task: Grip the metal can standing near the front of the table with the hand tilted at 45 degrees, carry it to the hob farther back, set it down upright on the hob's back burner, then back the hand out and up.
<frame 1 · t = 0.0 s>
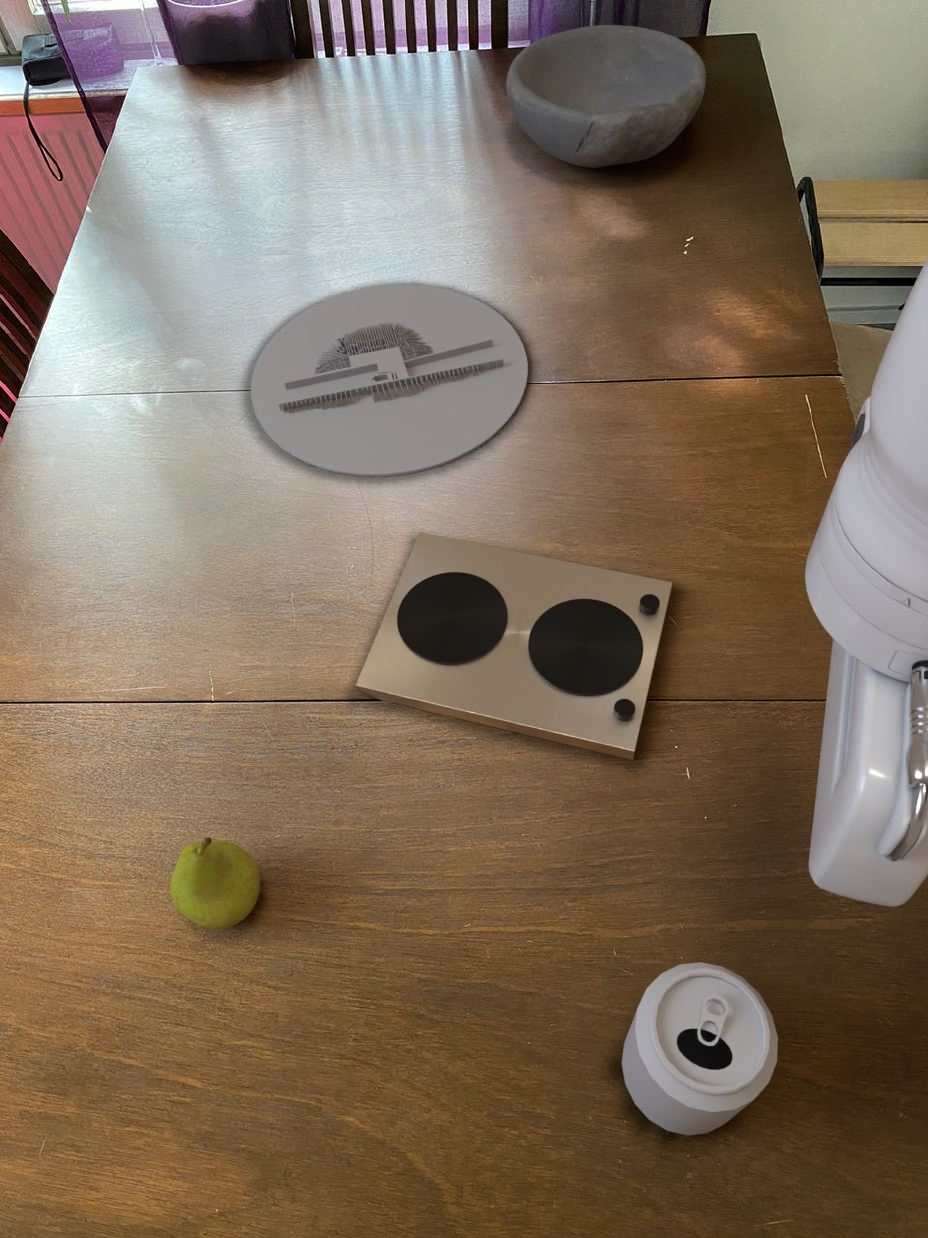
hand: (840, 739, 47), 23 cm above the table, tool pointing down, fingers open, 8 cm apart
bowl: (601, 147, 119), on the table
fruit: (229, 901, 68), on the table
can: (681, 1070, 60), on the table
hob: (518, 642, 79), on the table
plate: (389, 375, 98), on the table
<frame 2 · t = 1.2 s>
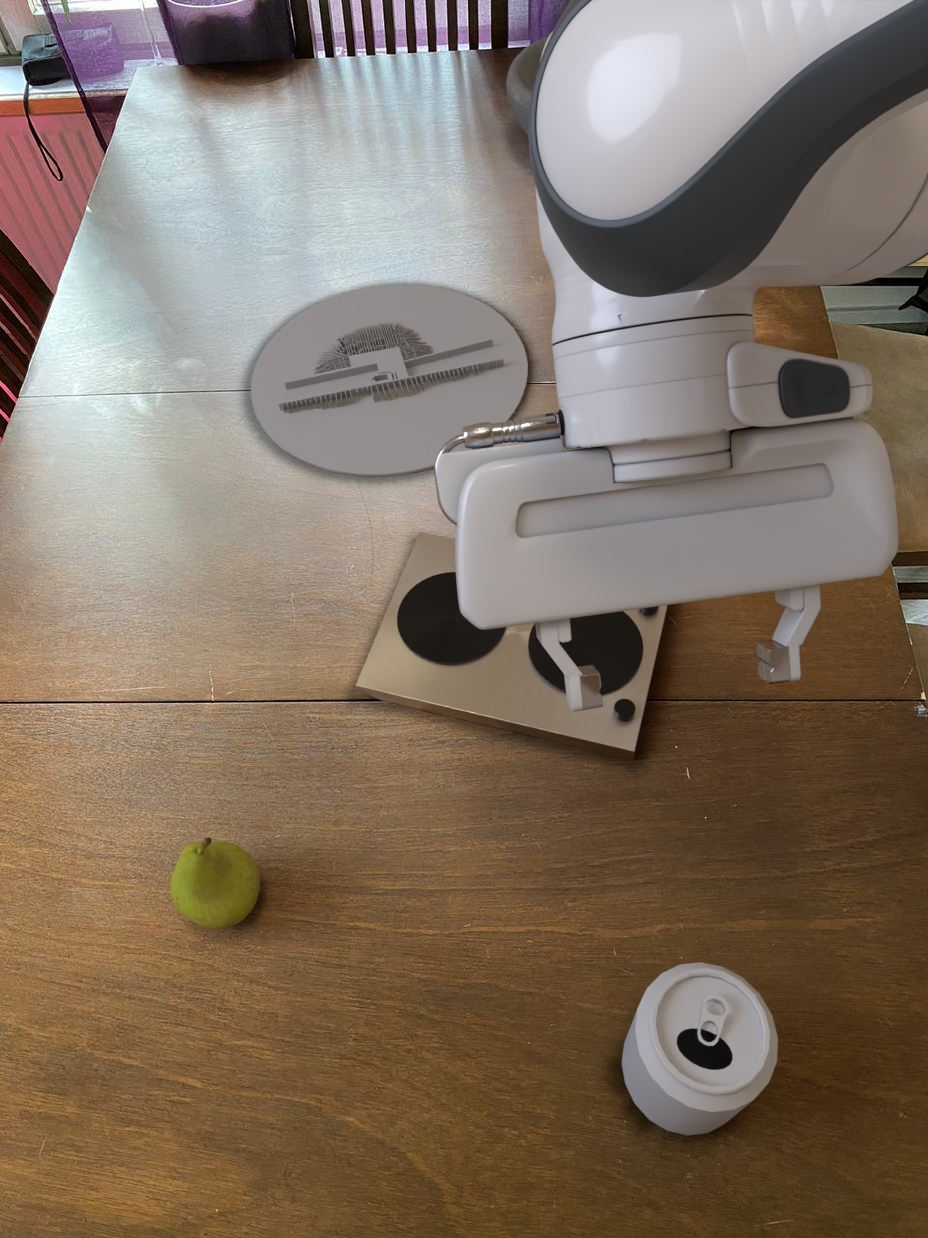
hand: (682, 693, 46), 25 cm above the table, tool tilted 45°, fingers open, 8 cm apart
nothing on the table moved.
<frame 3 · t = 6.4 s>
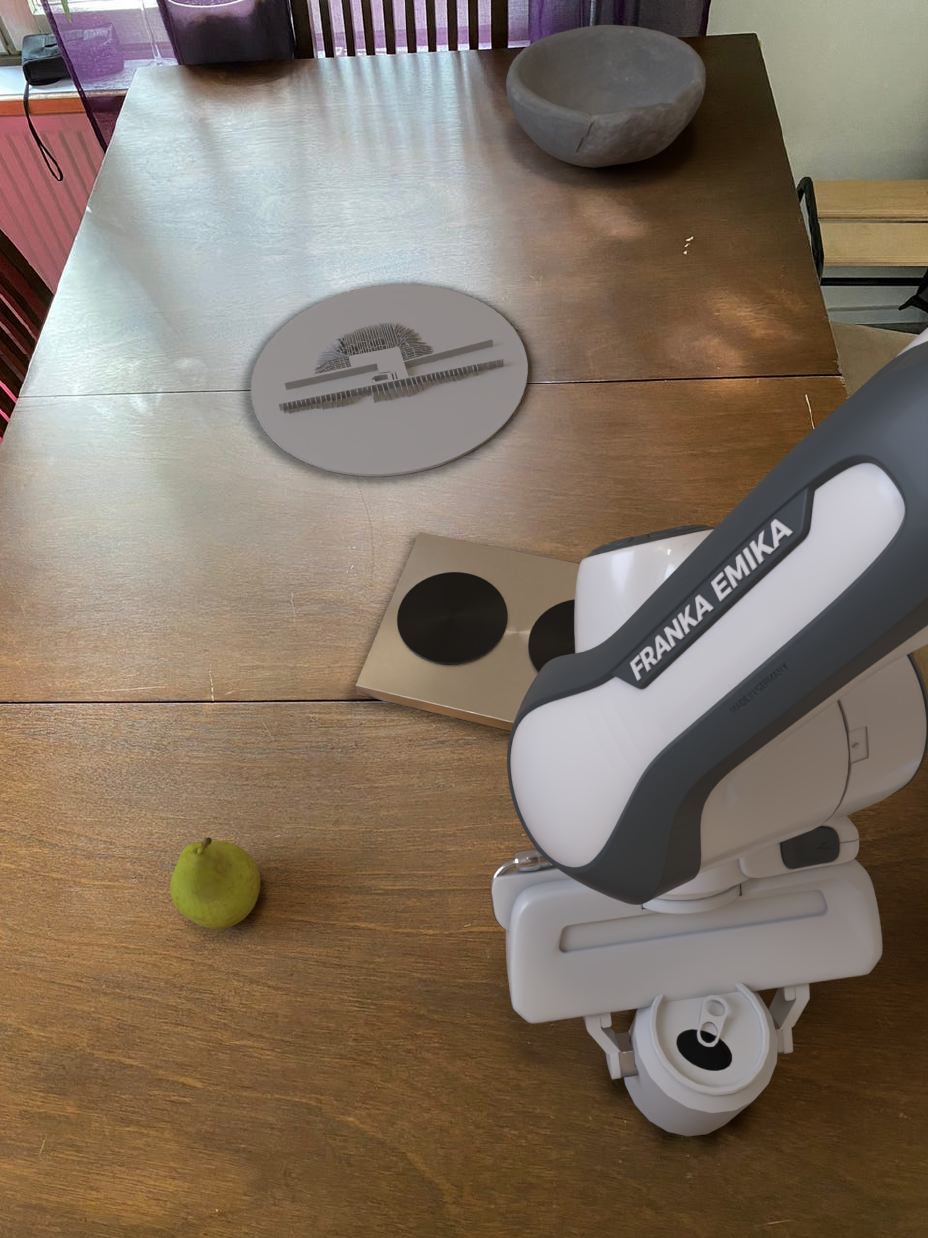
hand: (699, 1060, 54), 7 cm above the table, tool tilted 45°, fingers closed on can, 7 cm apart
can: (681, 1071, 60), on the table, touching gripper
everything else where it was.
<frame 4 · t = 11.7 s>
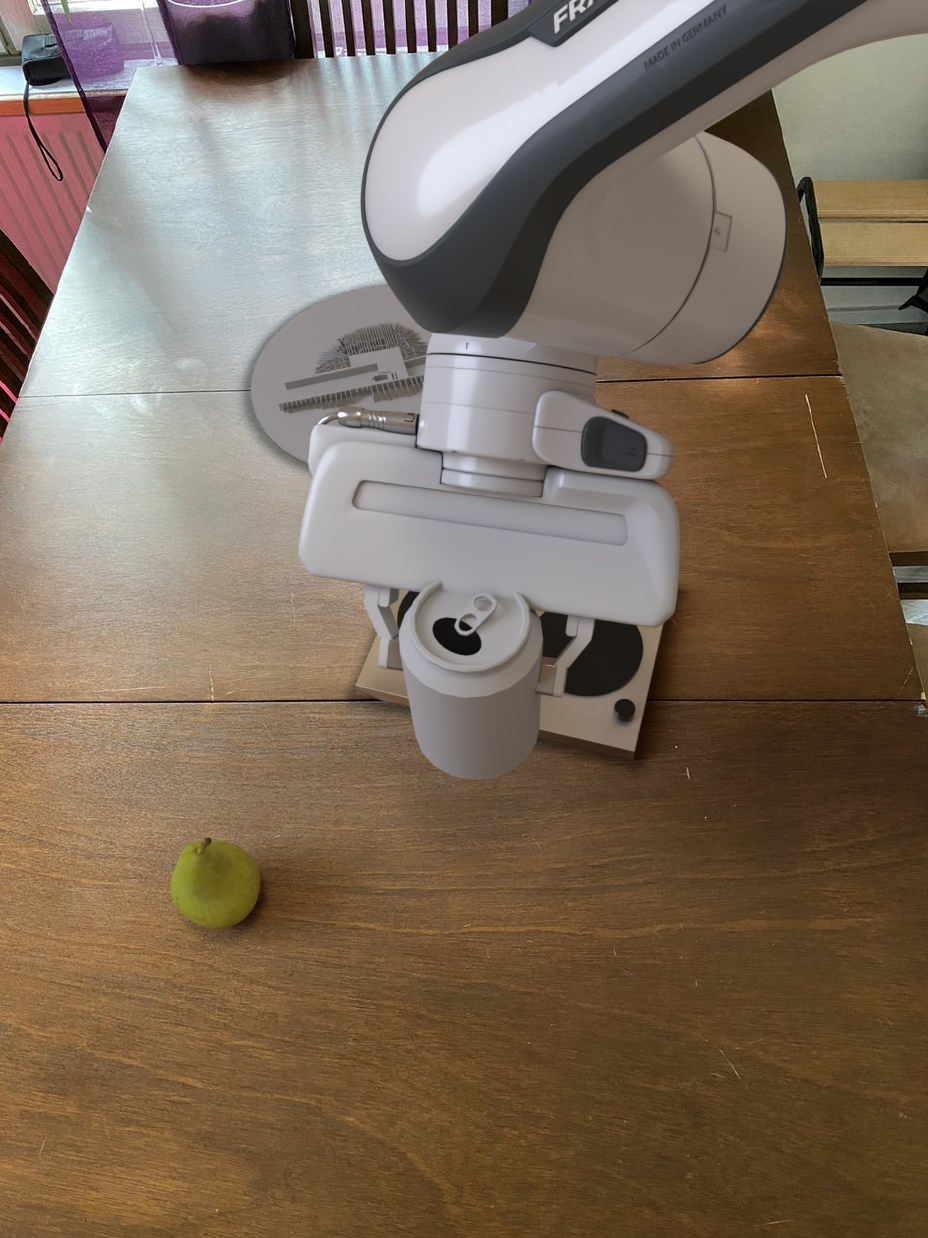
hand: (471, 680, 53), 21 cm above the table, tool tilted 45°, fingers closed on can, 7 cm apart
can: (477, 731, 59), point 14 cm above the table, touching gripper
everything else where it was.
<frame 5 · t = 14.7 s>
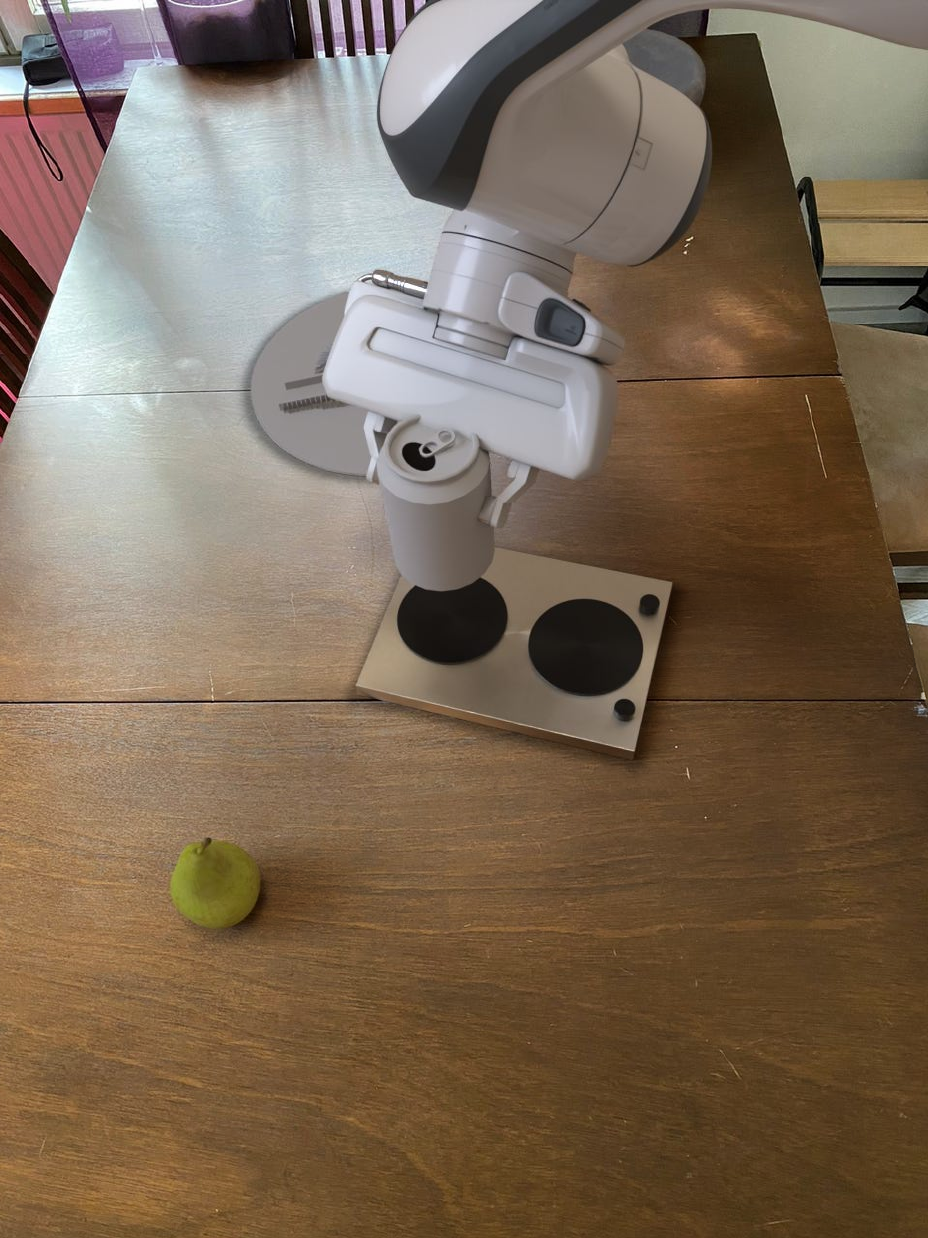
hand: (434, 504, 66), 16 cm above the table, tool tilted 45°, fingers closed on can, 7 cm apart
can: (445, 559, 72), point 9 cm above the table, touching gripper
everything else where it was.
when the fingers open (8 cm above the table, at t = 17.5 s): can stays where it is, resting on hob.
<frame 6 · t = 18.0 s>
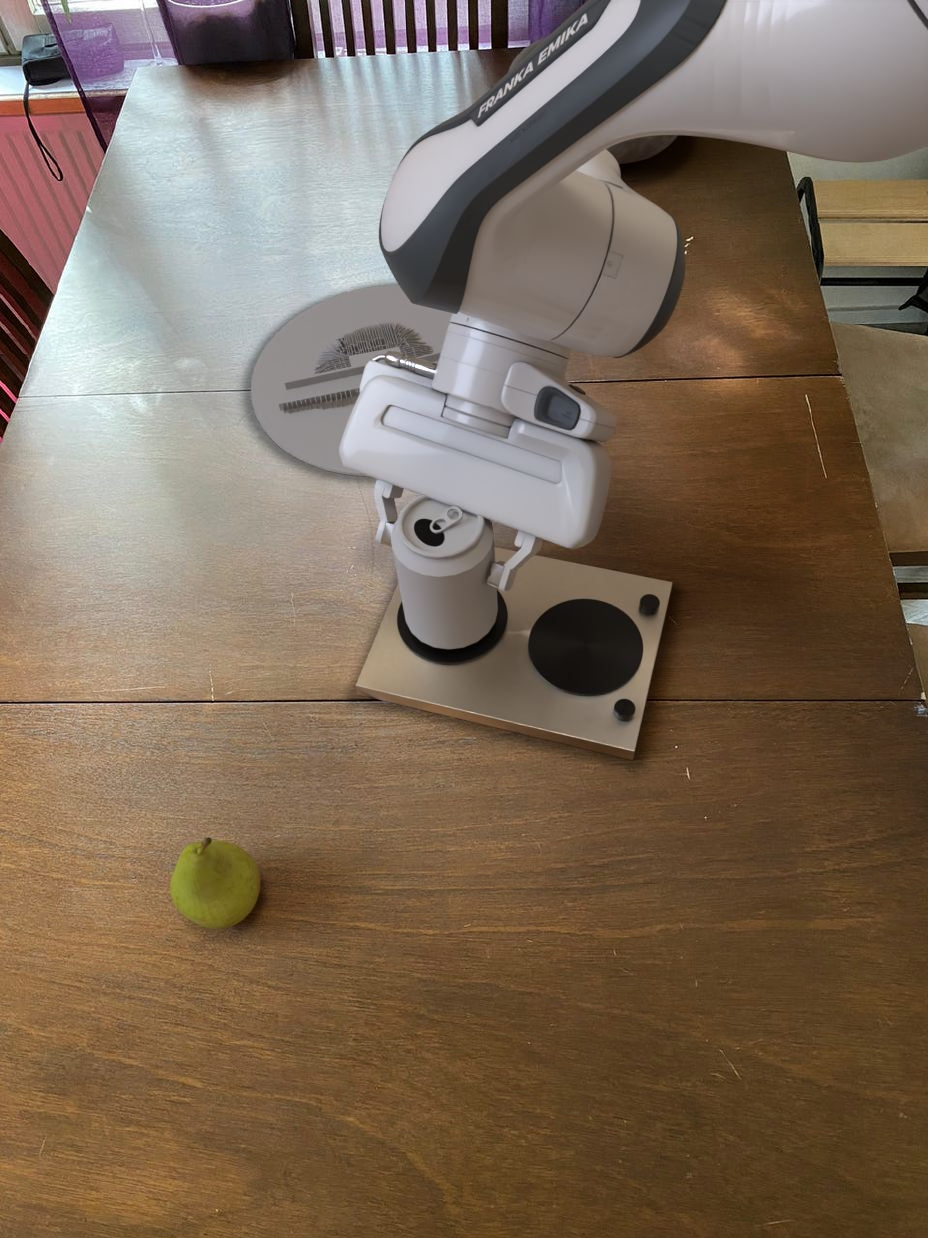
hand: (441, 565, 72), 9 cm above the table, tool tilted 45°, fingers open, 8 cm apart
can: (452, 617, 78), point 2 cm above the table, touching hob
everything else where it was.
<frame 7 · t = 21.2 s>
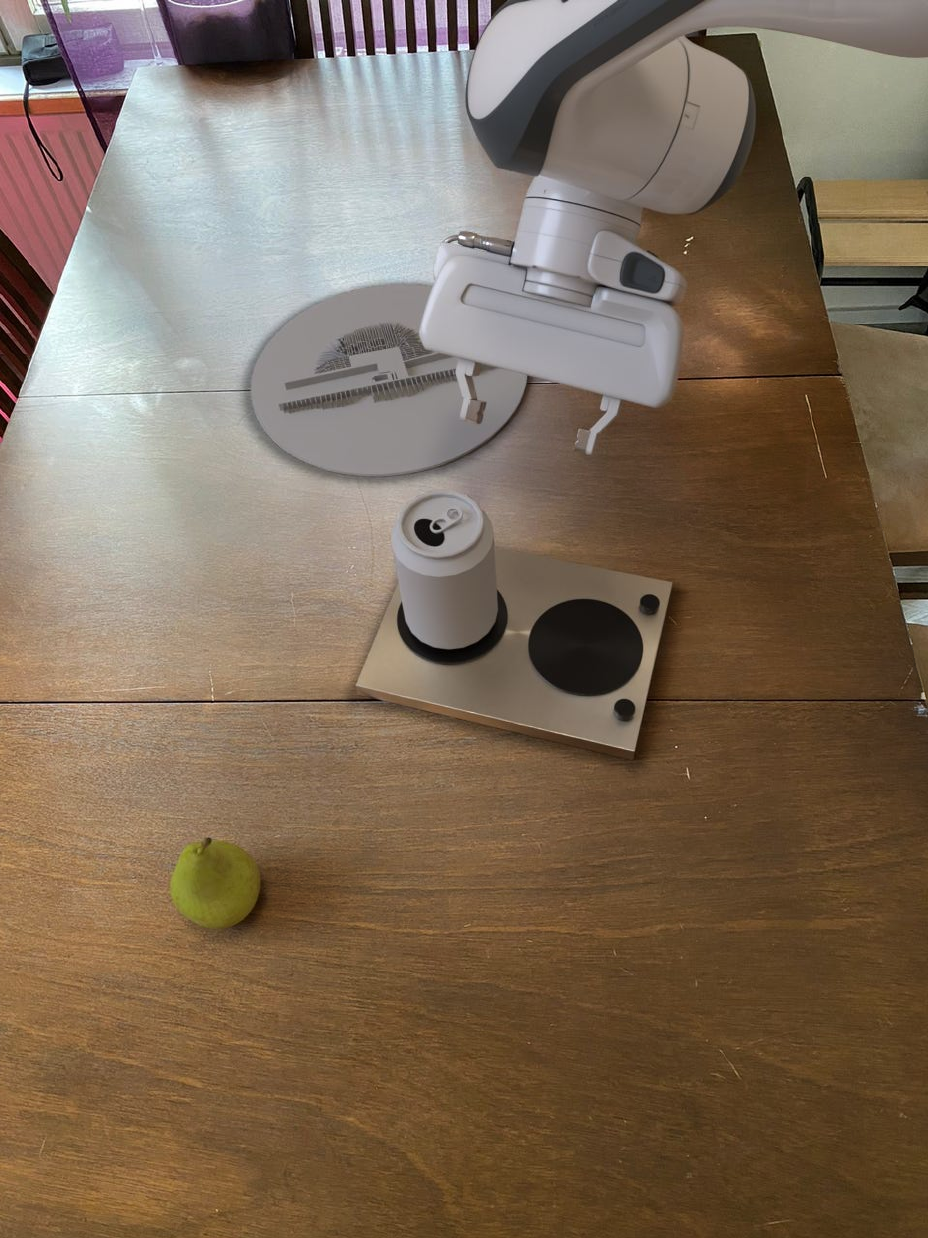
hand: (526, 437, 76), 11 cm above the table, tool tilted 40°, fingers open, 8 cm apart
nothing on the table moved.
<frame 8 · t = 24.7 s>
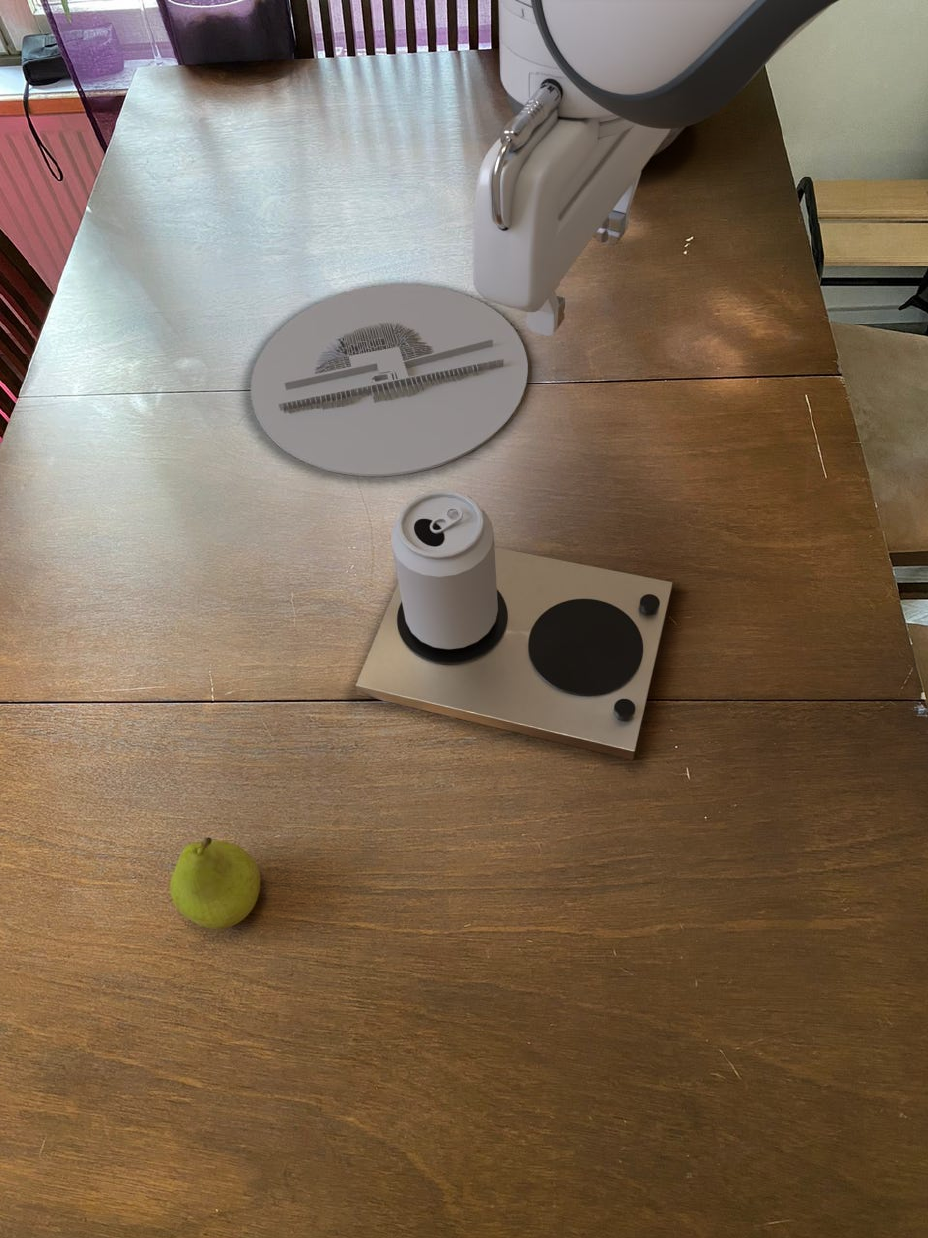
hand: (578, 280, 59), 29 cm above the table, tool pointing down, fingers open, 8 cm apart
nothing on the table moved.
at the end: can 0.0 cm from the target spot on the hob, point 1.6 cm above the hob's base; can tilted 0°; the gripper is holding nothing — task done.
